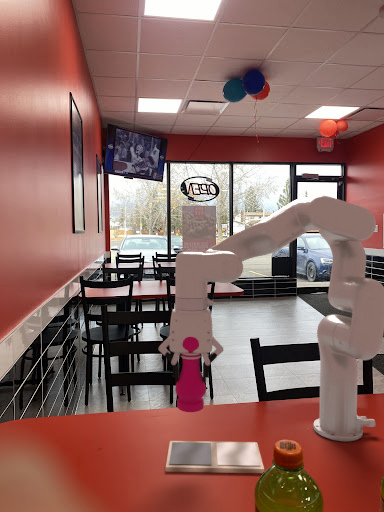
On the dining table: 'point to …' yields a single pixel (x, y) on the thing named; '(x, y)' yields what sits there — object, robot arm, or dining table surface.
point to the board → (214, 457)
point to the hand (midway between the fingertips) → (190, 379)
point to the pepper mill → (190, 379)
